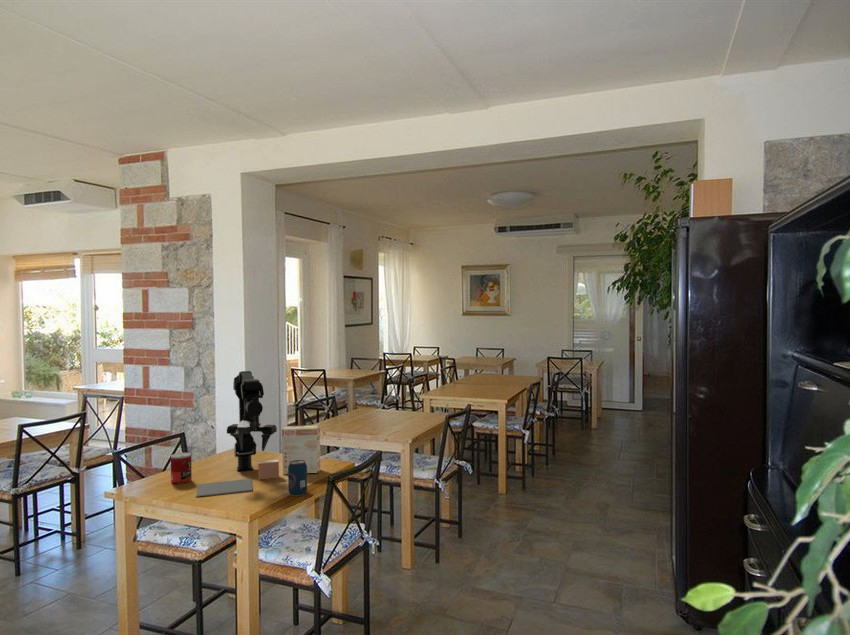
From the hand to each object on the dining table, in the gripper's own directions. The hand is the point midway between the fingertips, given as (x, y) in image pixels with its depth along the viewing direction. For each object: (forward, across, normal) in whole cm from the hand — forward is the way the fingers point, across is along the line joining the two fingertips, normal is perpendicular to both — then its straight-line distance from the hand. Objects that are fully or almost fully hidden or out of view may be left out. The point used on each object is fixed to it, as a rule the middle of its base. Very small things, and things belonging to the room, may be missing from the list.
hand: (252, 450), depth 224 cm
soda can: (+13, +23, -11) cm, 28 cm away
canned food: (+14, -31, +1) cm, 34 cm away
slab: (+14, +3, +8) cm, 16 cm away
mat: (+13, -8, -6) cm, 17 cm away
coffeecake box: (+14, +14, +18) cm, 27 cm away
